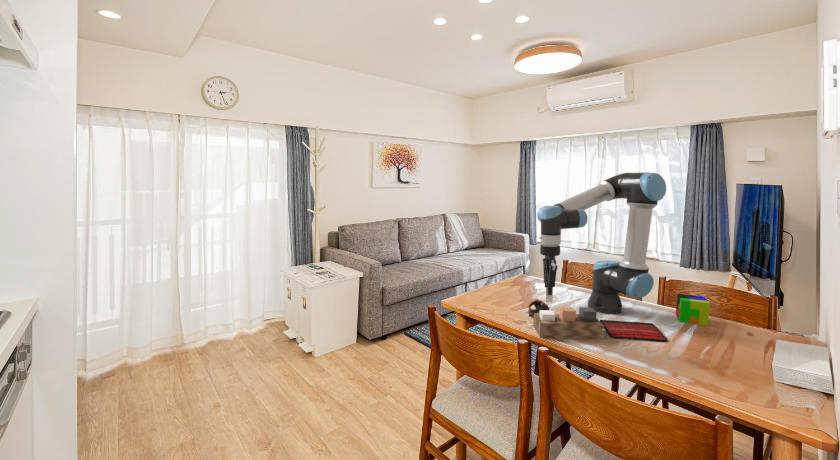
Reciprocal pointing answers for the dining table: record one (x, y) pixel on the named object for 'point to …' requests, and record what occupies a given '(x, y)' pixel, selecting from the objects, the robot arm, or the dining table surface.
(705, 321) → the puzzle toy
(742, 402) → the dining table surface
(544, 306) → the pottery mug
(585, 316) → the dark grey block
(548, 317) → the white block
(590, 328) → the key block
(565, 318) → the salmon orange block
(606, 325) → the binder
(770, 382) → the dining table surface
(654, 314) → the dining table surface
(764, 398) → the dining table surface
